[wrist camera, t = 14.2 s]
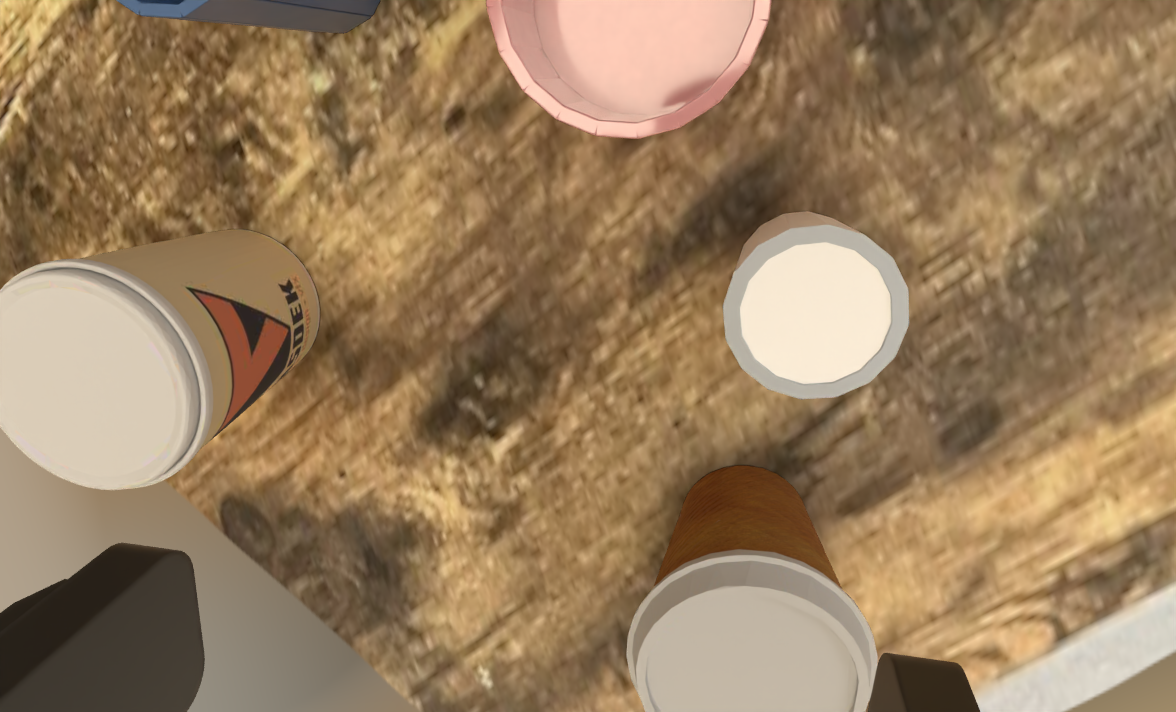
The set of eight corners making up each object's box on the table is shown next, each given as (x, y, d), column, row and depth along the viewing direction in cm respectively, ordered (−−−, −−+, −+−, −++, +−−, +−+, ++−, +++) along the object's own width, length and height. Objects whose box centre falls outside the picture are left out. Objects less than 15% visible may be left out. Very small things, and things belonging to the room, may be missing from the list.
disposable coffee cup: (645, 589, 44) (617, 765, 33) (655, 426, 41) (629, 560, 30) (827, 610, 43) (863, 802, 32) (852, 444, 40) (903, 591, 29)
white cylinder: (703, 223, 37) (700, 256, 31) (857, 176, 36) (887, 200, 29) (745, 361, 39) (749, 419, 33) (893, 322, 38) (929, 375, 31)
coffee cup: (323, 409, 44) (184, 527, 32) (159, 358, 44) (-33, 456, 33) (349, 242, 40) (205, 308, 29) (172, 188, 41) (-37, 234, 30)
